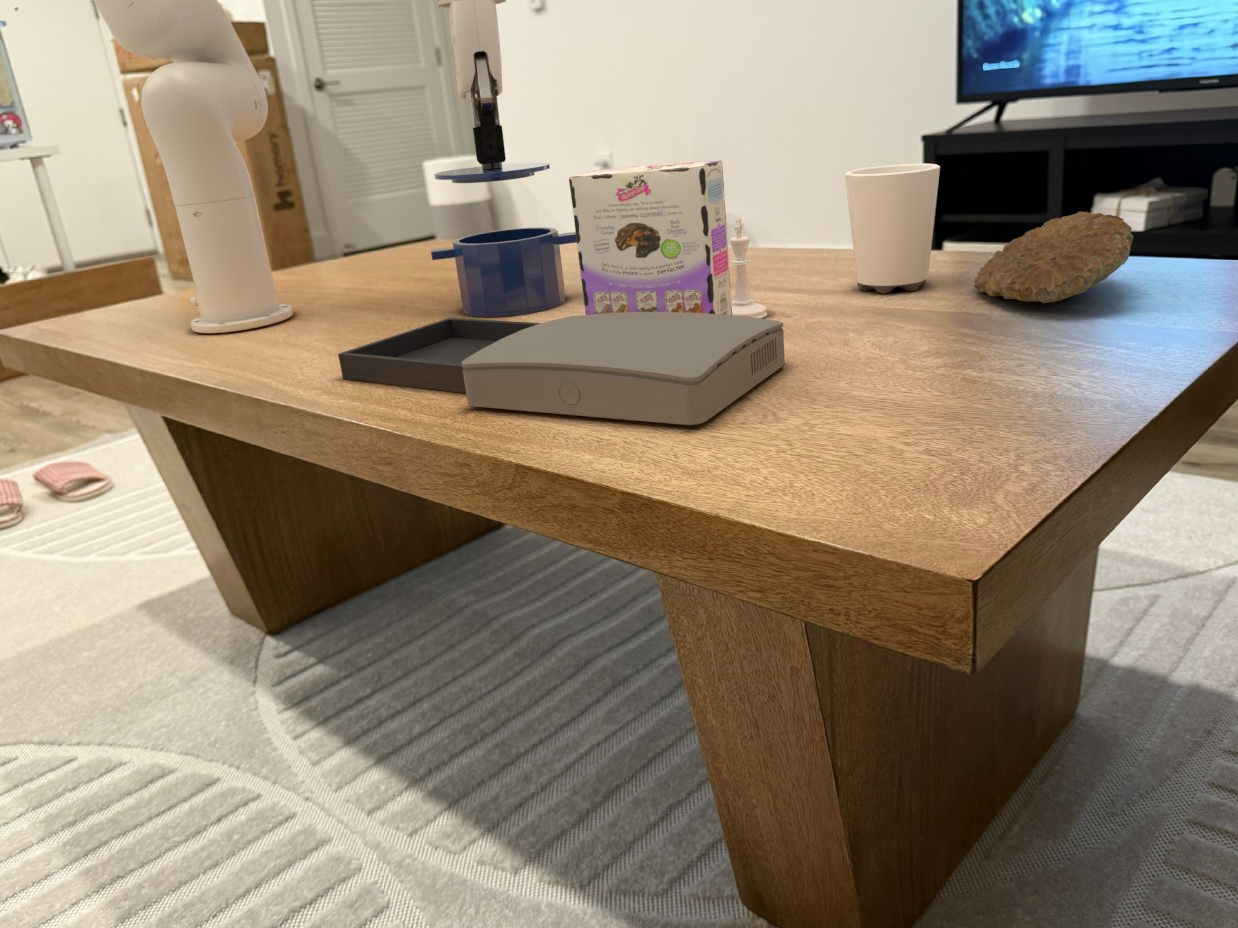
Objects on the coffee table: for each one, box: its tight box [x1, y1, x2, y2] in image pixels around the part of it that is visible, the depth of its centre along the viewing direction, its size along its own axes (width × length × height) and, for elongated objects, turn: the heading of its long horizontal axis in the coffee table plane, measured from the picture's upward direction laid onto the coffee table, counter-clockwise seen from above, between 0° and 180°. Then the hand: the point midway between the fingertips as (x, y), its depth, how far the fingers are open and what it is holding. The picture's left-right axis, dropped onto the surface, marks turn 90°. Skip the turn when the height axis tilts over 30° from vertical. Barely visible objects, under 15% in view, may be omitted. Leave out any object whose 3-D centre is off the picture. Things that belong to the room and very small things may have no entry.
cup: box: [844, 163, 941, 294], centre depth 108 cm, size 10×10×13 cm
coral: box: [973, 211, 1134, 304], centre depth 97 cm, size 19×9×15 cm
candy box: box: [568, 160, 732, 315], centre depth 95 cm, size 14×6×16 cm, turn 65°
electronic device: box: [462, 312, 786, 426], centre depth 82 cm, size 19×22×5 cm
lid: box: [433, 162, 551, 184], centre depth 115 cm, size 14×14×6 cm
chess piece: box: [729, 218, 768, 319], centre depth 102 cm, size 5×5×10 cm
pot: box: [430, 226, 577, 318], centre depth 120 cm, size 13×18×8 cm
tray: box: [337, 317, 542, 394], centre depth 95 cm, size 17×15×2 cm
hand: (491, 161), depth 116 cm, fingers closed on lid, 2 cm apart
